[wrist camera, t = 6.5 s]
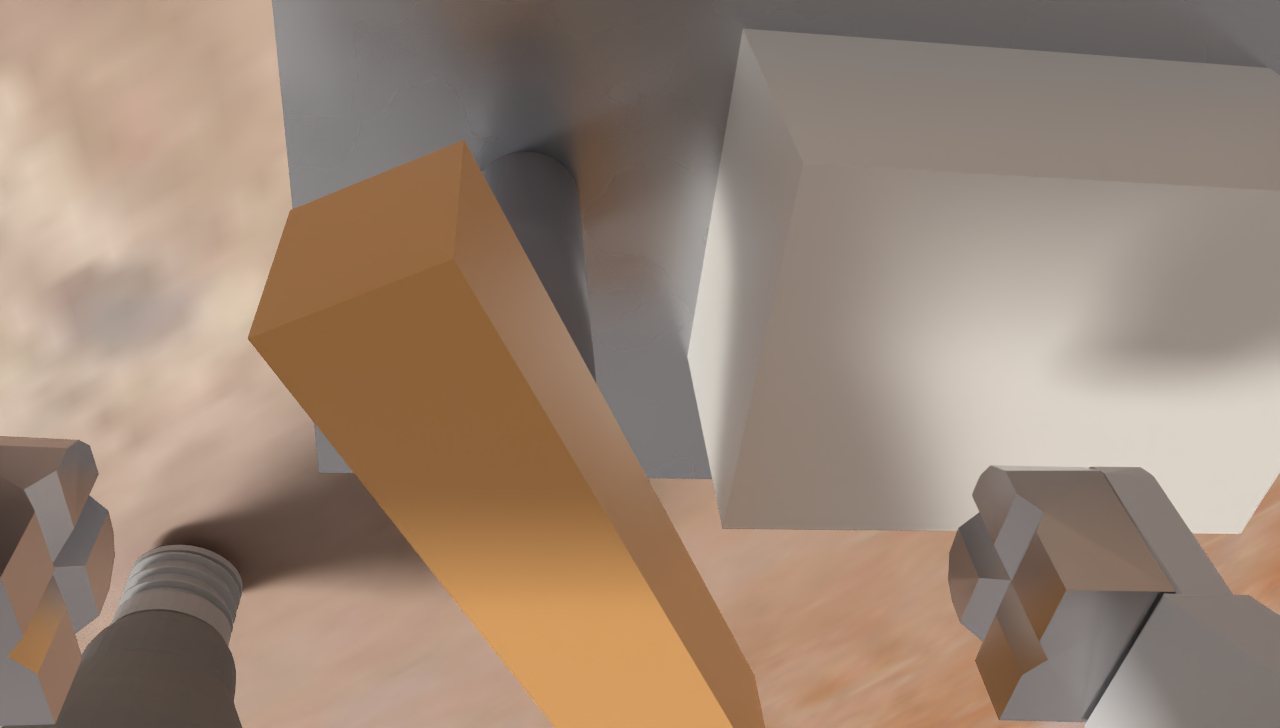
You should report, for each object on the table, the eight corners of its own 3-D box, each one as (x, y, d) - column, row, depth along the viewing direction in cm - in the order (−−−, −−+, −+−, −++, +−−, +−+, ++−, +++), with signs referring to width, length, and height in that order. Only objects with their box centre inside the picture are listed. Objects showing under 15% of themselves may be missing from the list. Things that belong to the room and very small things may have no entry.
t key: (704, 436, 17) (781, 809, 12) (612, 468, 17) (649, 847, 12) (479, -39, 12) (453, 259, 7) (354, 17, 12) (246, 338, 8)
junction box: (1163, -228, 17) (1407, -135, 12) (978, 291, 23) (1095, 485, 19) (329, -324, 15) (246, -257, 11) (362, 265, 21) (319, 472, 17)
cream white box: (1269, 68, 14) (1453, 201, 11) (1123, 370, 17) (1240, 533, 14) (743, 28, 13) (803, 162, 10) (686, 356, 16) (722, 529, 13)
